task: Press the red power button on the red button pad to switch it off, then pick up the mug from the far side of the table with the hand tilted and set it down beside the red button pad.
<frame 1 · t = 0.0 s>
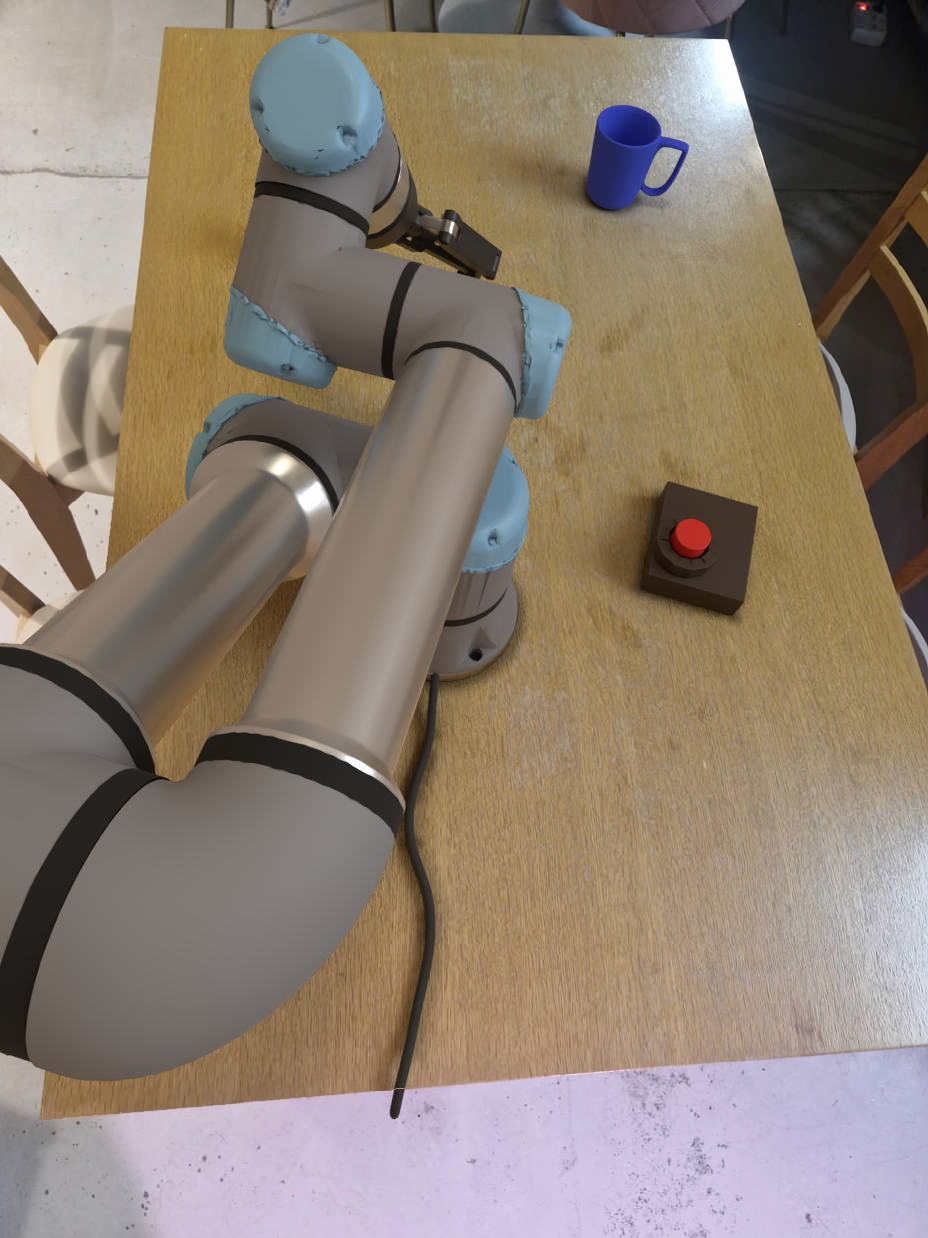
hand: (404, 258, 85), 15 cm above the table, tool tilted 35°, fingers open, 13 cm apart
power button: (690, 538, 85), point 5 cm above the table, slide at 0.1 cm
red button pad: (694, 554, 91), on the table
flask: (298, 263, 104), on the table
mug: (623, 200, 115), on the table
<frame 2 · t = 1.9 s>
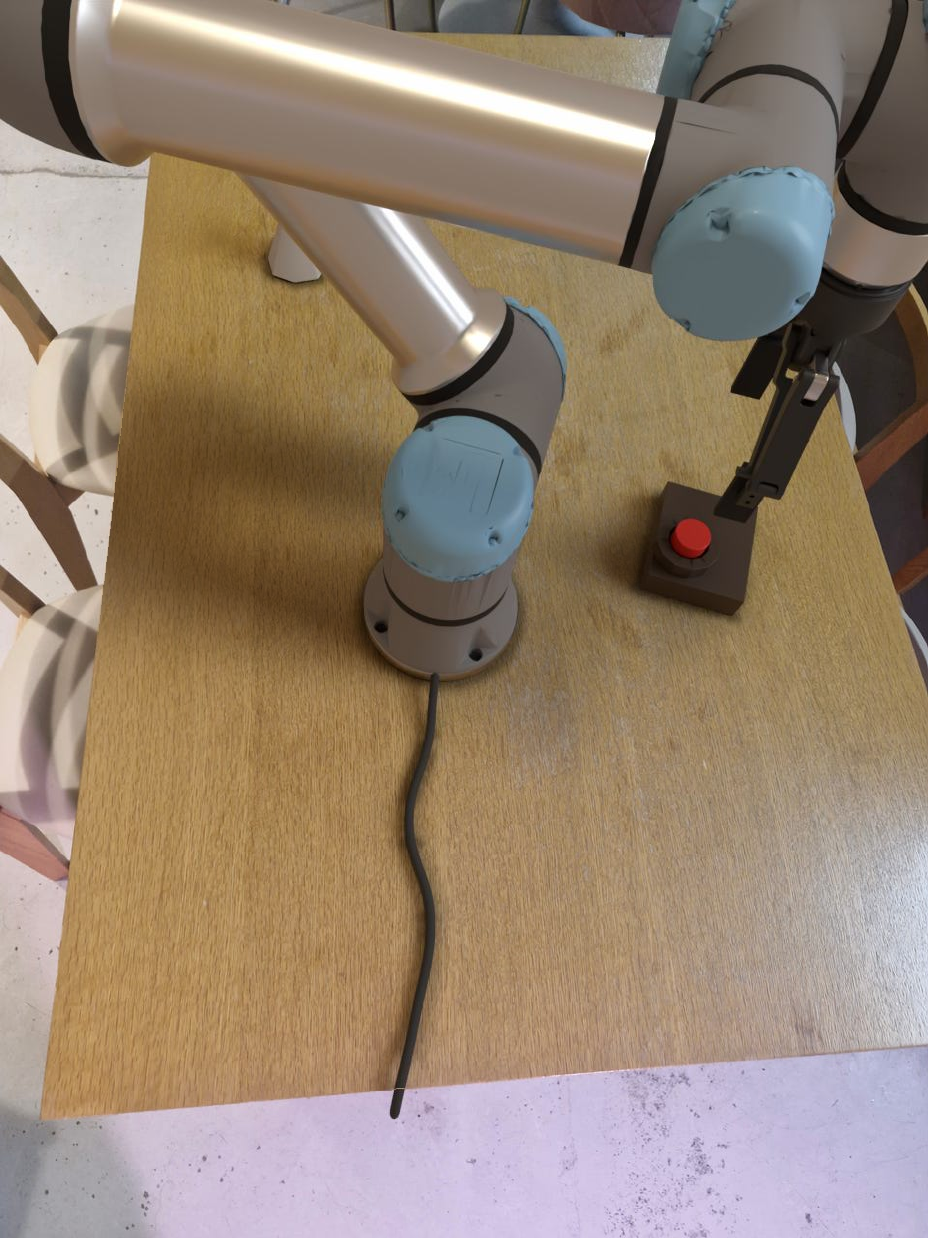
hand: (737, 452, 74), 19 cm above the table, tool pointing down, fingers open, 13 cm apart
nothing on the table moved.
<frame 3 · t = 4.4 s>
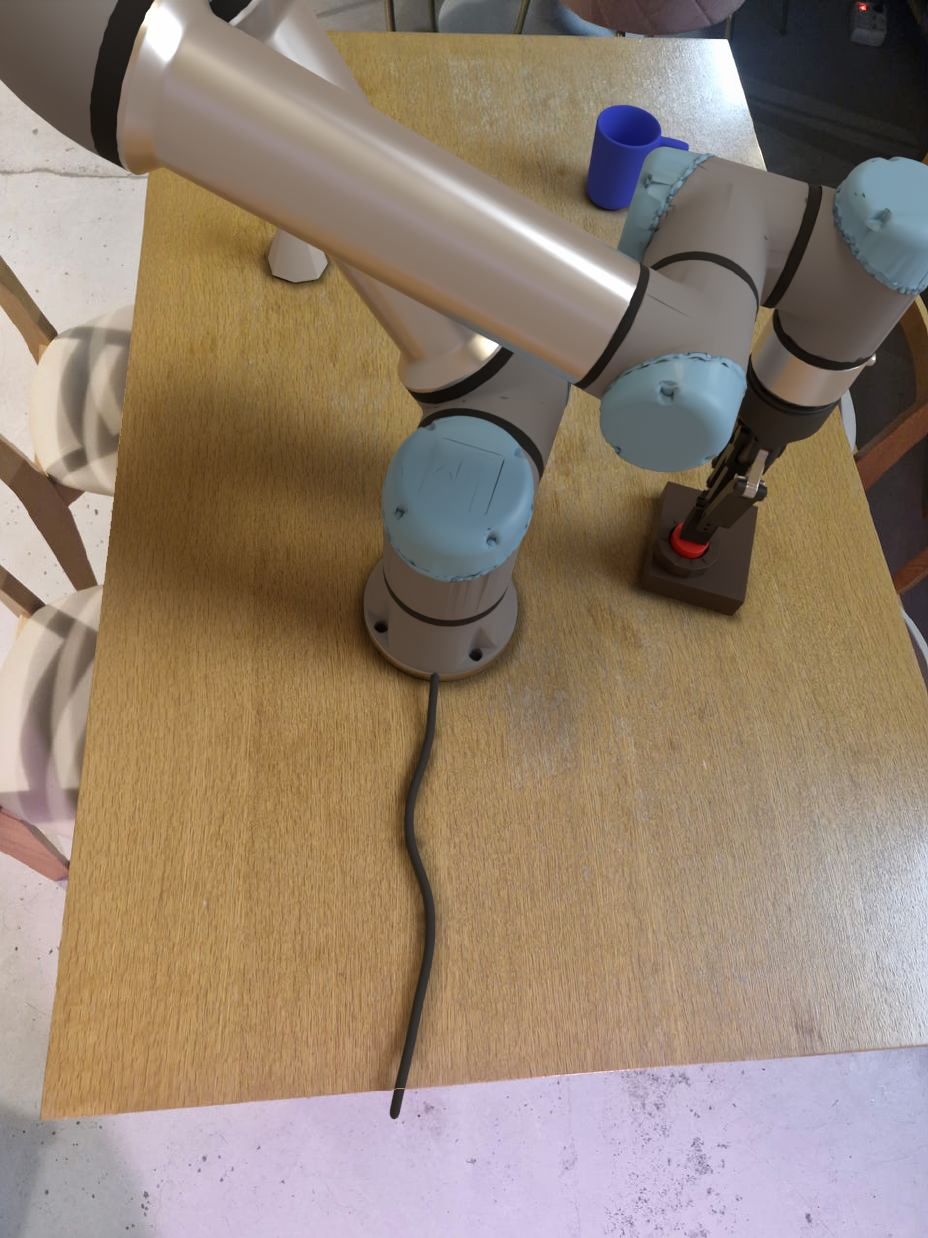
hand: (693, 535, 85), 6 cm above the table, tool pointing down, fingers closed
power button: (688, 541, 86), point 5 cm above the table, slide at -0.5 cm, touching gripper
everything else where it was.
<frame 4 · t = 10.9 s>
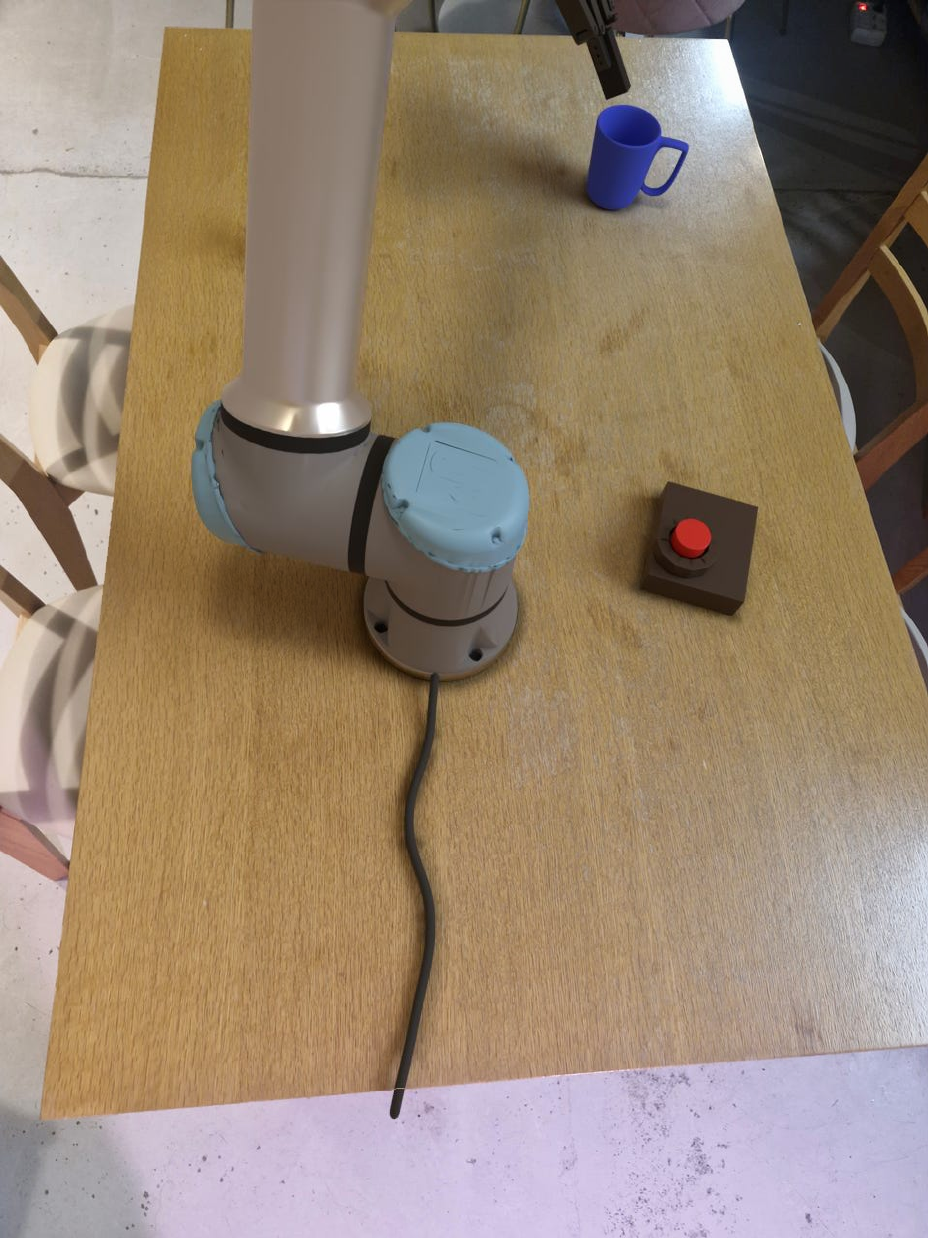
hand: (618, 92, 98), 16 cm above the table, tool tilted 35°, fingers closed
power button: (690, 538, 85), point 5 cm above the table, slide at 0.1 cm
everything else where it was.
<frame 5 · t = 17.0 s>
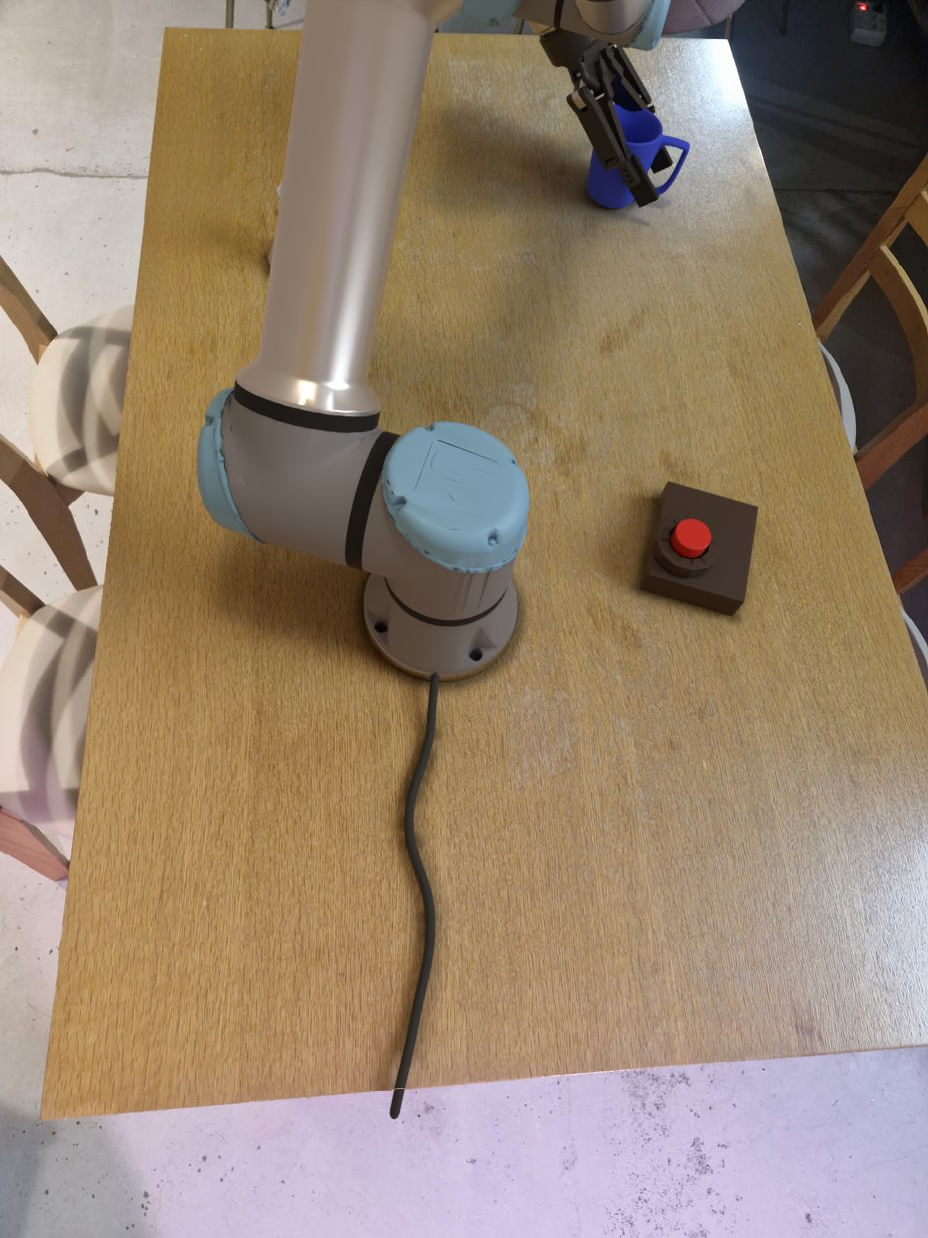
hand: (656, 184, 111), 3 cm above the table, tool tilted 45°, fingers closed on mug, 7 cm apart
mug: (623, 199, 114), on the table, touching gripper
everything else where it was.
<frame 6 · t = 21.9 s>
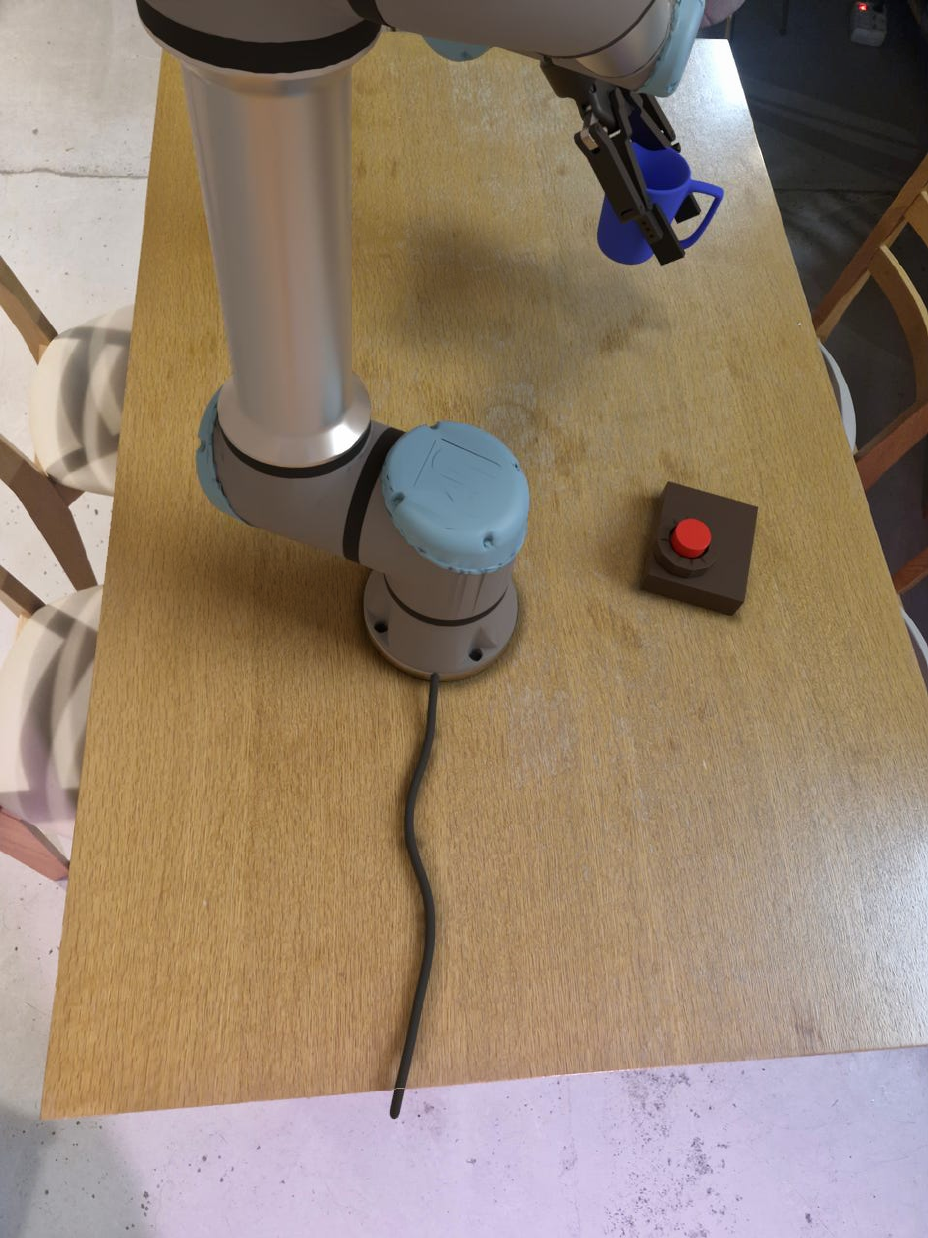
hand: (681, 237, 92), 14 cm above the table, tool tilted 45°, fingers closed on mug, 7 cm apart
mug: (640, 253, 95), point 10 cm above the table, touching gripper
everything else where it was.
when the fingers open (3 cm above the table, at t = 27.2 s): mug stays where it is, on the table.
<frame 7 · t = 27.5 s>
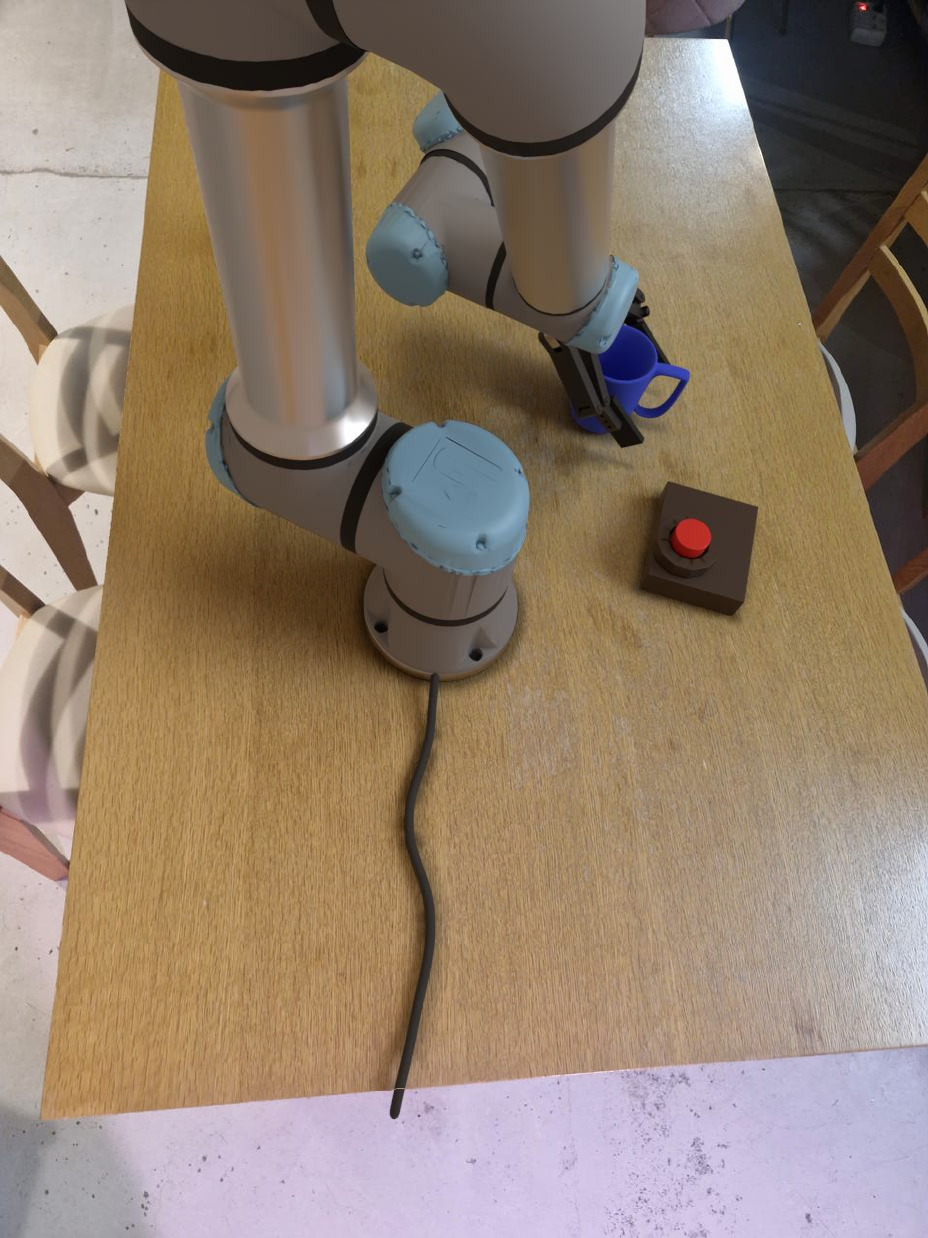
hand: (646, 405, 94), 4 cm above the table, tool tilted 45°, fingers open, 11 cm apart
mug: (613, 418, 98), on the table
everything else where it was.
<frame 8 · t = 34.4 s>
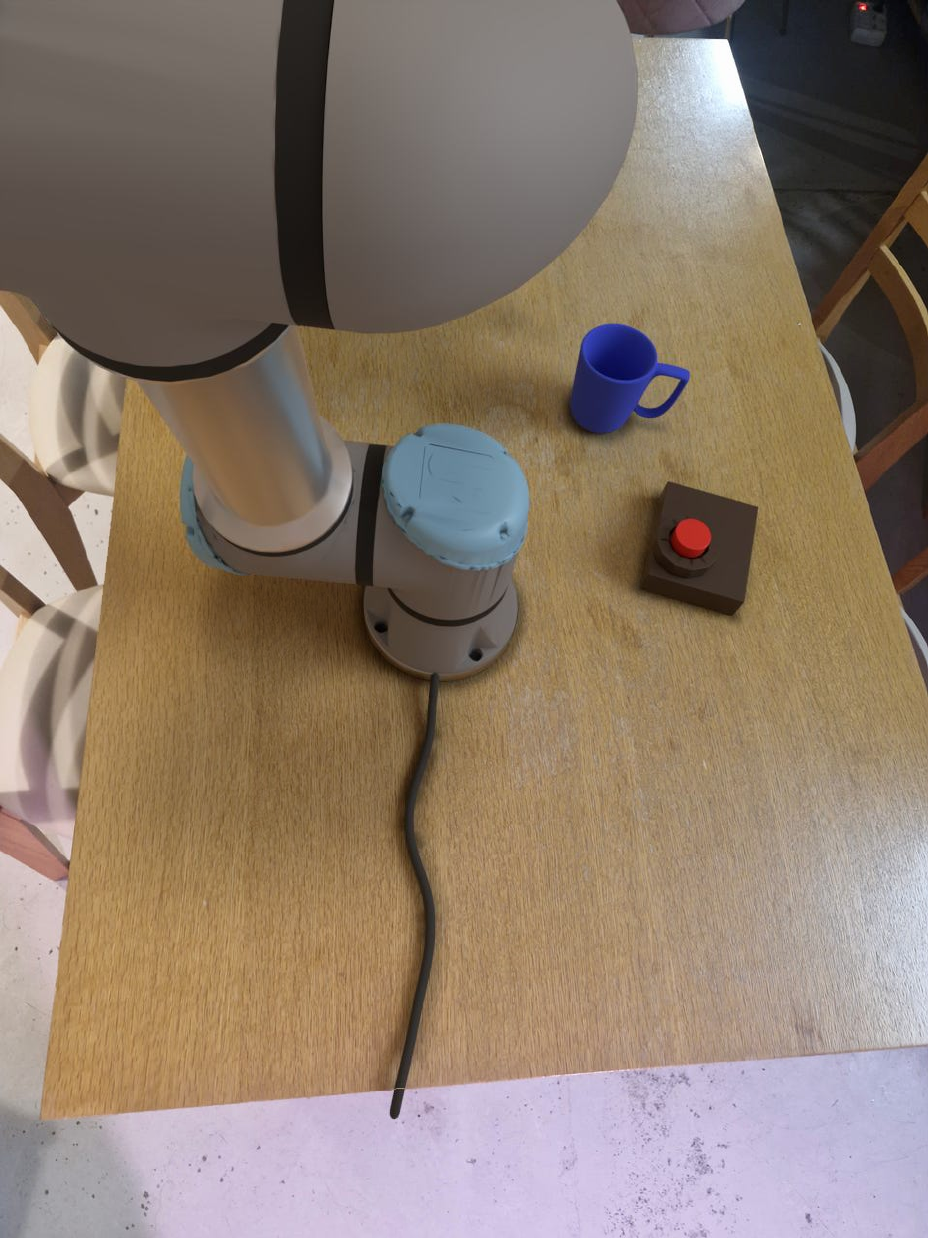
hand: (567, 212, 77), 24 cm above the table, tool tilted 45°, fingers open, 13 cm apart
nothing on the table moved.
at the end: power button pushed in 1.0 cm at the most during the clip, back to where it started at the end; mug inside the target area on the table beside the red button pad (0.2 cm from its centre), on the table; mug tilted 0° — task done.
